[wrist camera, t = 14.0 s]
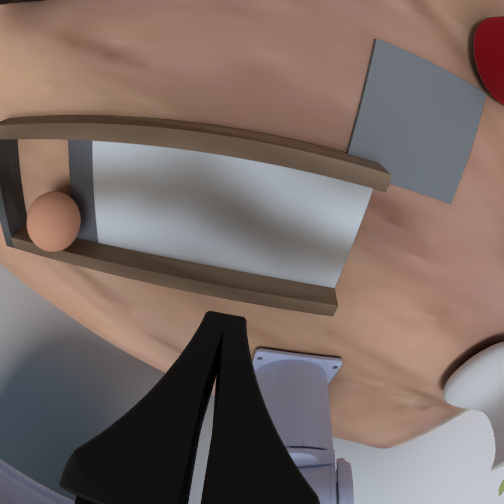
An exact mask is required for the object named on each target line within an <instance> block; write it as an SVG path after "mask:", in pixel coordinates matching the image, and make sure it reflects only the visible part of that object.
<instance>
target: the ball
mask: <svg viewBox="0 0 504 504" xmlns="http://www.w3.org/2000/svg"><path fill="white" fill-rule="evenodd" d="M80 224H81V217H80V212H79V209H78V207H77V205H76V203H75V201H74V200H73V199H72V198H71V197H69V196H68V195H66V194H64V193H62V192H57V191H53V192H48V193H45V194H43V195H41V196H39V197H38V198H37V199H36V200H35V201H34V202H33V204H32V205H31V207H30V209H29V212H28V215H27V230H28V234H29V236H30V238H31V240H32V241H33V242H34V244H35V245H36V246H38V247H39V248H41V249H42V250H45V251H49V252H57V251H61V250H63V249H65V248H67V247H68V246H69V245H71V244H72V243H73V241H74V240H75V239H76V237H77V235H78V233H79V229H80Z"/></svg>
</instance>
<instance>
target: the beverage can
mask: <svg viewBox="0 0 504 504" xmlns="http://www.w3.org/2000/svg"><path fill="white" fill-rule="evenodd" d="M474 57H475V62H476V66H477V69H478V72H479V75H480V77H481V79H482V81H483V83H484V85H485V87H486V88H487V90H488V91H489V93H490V94H491V95H492V96H493V97H494V98H495V99H496V100H497V101H498V102H499V103H501V104H502V105H504V17H491V18H487V19H485V20H484V21H482V22H481V23H480V25H479V26H478V28H477V30H476V32H475V36H474Z"/></svg>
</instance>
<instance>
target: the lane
mask: <svg viewBox="0 0 504 504" xmlns="http://www.w3.org/2000/svg"><path fill="white" fill-rule="evenodd" d="M17 139H63V140H68V148H69V170H70V185H71V196H72V199H73V200H74V201H75V203H76V205H77V207H78V209H79V212H80V217H81V224H80V229H79V233H78V235H77V237H76V239H75V240H74V241H73V243H72V244H71V245H69V246H68V247H67V248H65V249H63V250H61V251H57V252H49V251H45V250H42V249H41V248H39V247H38V246H36V245H35V244H34V242H33V241H32V240H31V238H30V236H29V234H28V230H27V216H26V210H25V205H24V199H23V192H22V185H21V178H20V169H19V159H18V147H17ZM391 176H392V175H391V174H390V173H389V172H388V171H387V170H386V169H385V168H384V167H383V166H382V165H381V164H380V163H377V162H374V161H370V160H367V159H364V158H360V157H357V156H353V155H350V154H347V153H346V152H343V151H339V150H335V149H331V148H327V147H324V146H320V145H315V144H311V143H307V142H303V141H298V140H294V139H289V138H285V137H280V136H275V135H270V134H265V133H260V132H254V131H249V130H243V129H237V128H231V127H224V126H217V125H210V124H203V123H195V122H187V121H178V120H168V119H156V118H143V117H127V116H100V115H61V116H35V117H20V118H9V119H6V120H3V121H1V122H0V221H1V226H2V230H3V234H4V238H5V241H6V245H7V246H9V247H13V248H16V249H20V250H23V251H26V252H30V253H33V254H37V255H40V256H44V257H47V258H51V259H55V260H58V261H62V262H66V263H70V264H73V265H77V266H81V267H85V268H89V269H93V270H97V271H101V272H105V273H109V274H113V275H117V276H122V277H126V278H130V279H134V280H139V281H143V282H148V283H152V284H157V285H161V286H166V287H170V288H175V289H180V290H185V291H189V292H194V293H199V294H204V295H209V296H214V297H220V298H225V299H230V300H236V301H241V302H246V303H252V304H258V305H263V306H269V307H275V308H281V309H287V310H293V311H300V312H306V313H313V314H319V315H326V316H333V315H334V313H335V311H336V309H337V307H338V302H337V298H336V293H335V286H336V283H337V281H338V279H339V276H340V274H341V272H342V269H343V267H344V264H345V262H346V260H347V257H348V255H349V252H350V250H351V247H352V245H353V242H354V240H355V237H356V234H357V232H358V229H359V227H360V224H361V221H362V219H363V216H364V213H365V210H366V208H367V205H368V202H369V199H370V196H371V194H372V191H373V189H376V190H379V191H383V192H386V190H387V188H388V185H389V182H390V179H391Z"/></svg>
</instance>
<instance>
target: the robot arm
mask: <svg viewBox="0 0 504 504" xmlns="http://www.w3.org/2000/svg"><path fill="white" fill-rule="evenodd" d="M341 365H342V359H340V358H333V357H323V356H314V355H306V354H298V353H290V352H283V351H276V350H269V349H263V348H260V349H257V350H256V351H255V354H254V358H253V361H252V359H251V355H250V350H249V344H248V338H247V327H246V319H245V318H244V317H240V316H235V315H229V314H224V313H218V312H213V311H208V312H206V314H205V316H204V318H203V320H202V322H201V324H200V326H199V328H198V329H197V331H196V333H195V334H194V336H193V337H192V339H191V341H190V342H189V343H188V345H187V346H186V348H185V349H184V351H183V352H182V353H181V355H180V356H179V358H178V359H177V360H176V361H175V363H174V364H173V365H172V366H171V368H170V369H169V370H168V371H167V373H166V374H165V375H164V376H163V378H162V379H161V380H160V381H159V382H158V383H157V384H156V385H155V386H154V387H153V388H152V389H151V390H150V391H149V393H148V394H147V395H145V396H144V397H143V398H142V399H141V400H140V401H139V402H138V403H137V404H136V405H135V406H134V407H133V408H132V409H130V410H129V411H128V412H127V413H126V414H125V415H124V416H122V417H121V418H120V419H119V420H117V421H116V422H115V423H113V424H112V425H111V426H110V427H108V428H107V429H106V430H104V431H103V432H102V433H100V434H99V435H97V436H96V437H94V438H93V439H91V440H90V441H88V442H87V443H85V444H83V445H82V446H80V447H79V448H77V449H76V450H75V451H74V452H73V454H72V455H71V457H70V458H69V460H68V462H67V464H66V466H65V468H64V471H63V474H62V477H61V481H60V486H61V488H63V489H65V490H66V491H68V492H70V493H72V494H75V495H76V496H77V497H76V500H75V502H74V501H72V500H70V499H68V498H66V497H64V496H62V495H59V494H58V493H56V492H54V491H52V490H50V489H48V488H46V487H44V486H43V485H41V484H39V483H37V482H36V481H34V480H32V479H30V478H29V477H27V476H25V475H24V474H22V473H20V472H19V471H17V470H16V469H14V468H13V467H11V466H10V465H8V464H7V463H5V462H4V461H2V460H1V459H0V504H188V502H189V495H190V489H191V483H192V477H193V471H194V465H195V459H196V453H197V447H198V441H199V436H200V431H201V427H202V423H203V420H204V416H205V413H206V409H207V406H208V402H209V399H210V395H211V392H212V389H213V385H214V382H215V378H216V388H215V403H214V416H213V429H212V437H211V443H210V449H209V455H208V462H207V468H206V474H205V480H204V486H203V493H202V499H201V504H353V503H354V499H353V498H354V497H353V479H352V470H351V465H350V463H348V462H347V461H345V459H344V458H340V459H337V470H336V472H335V454H334V449H333V441H332V426H331V413H330V401H329V390H328V384H329V383H330V381H331V380H332V379H333V377H334V376H335V374H336V373H337V371H338V370H339V368H340V367H341ZM336 475H337V476H336ZM336 478H337V479H336ZM336 481H337V482H336Z"/></svg>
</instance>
